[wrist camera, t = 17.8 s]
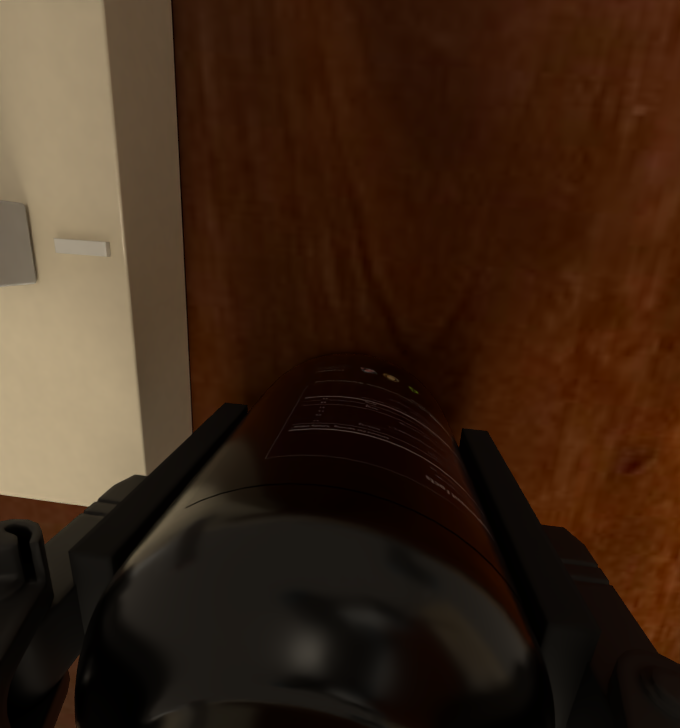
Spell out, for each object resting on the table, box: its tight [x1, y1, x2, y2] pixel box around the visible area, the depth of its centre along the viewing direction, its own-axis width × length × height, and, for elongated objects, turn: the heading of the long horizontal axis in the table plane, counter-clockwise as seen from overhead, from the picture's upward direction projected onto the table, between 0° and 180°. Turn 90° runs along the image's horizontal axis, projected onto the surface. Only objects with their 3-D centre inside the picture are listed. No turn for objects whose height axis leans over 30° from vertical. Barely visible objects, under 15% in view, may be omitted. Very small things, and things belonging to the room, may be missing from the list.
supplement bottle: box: [74, 353, 556, 728], centre depth 8 cm, size 7×7×12 cm
